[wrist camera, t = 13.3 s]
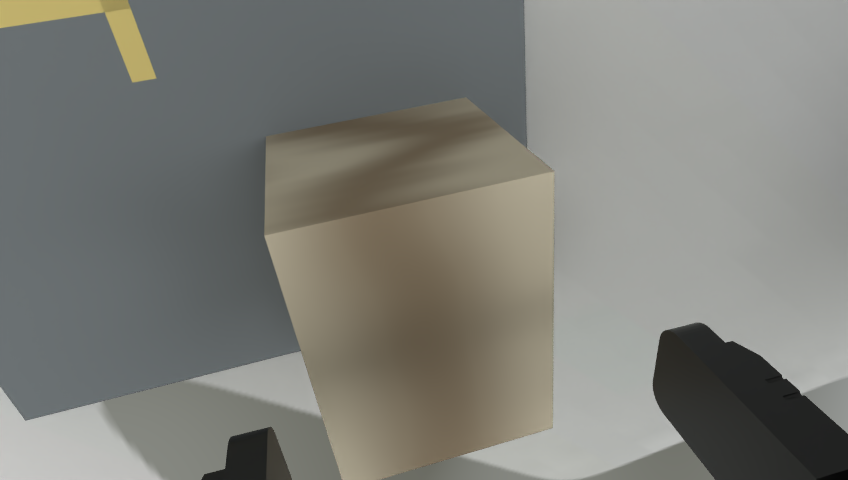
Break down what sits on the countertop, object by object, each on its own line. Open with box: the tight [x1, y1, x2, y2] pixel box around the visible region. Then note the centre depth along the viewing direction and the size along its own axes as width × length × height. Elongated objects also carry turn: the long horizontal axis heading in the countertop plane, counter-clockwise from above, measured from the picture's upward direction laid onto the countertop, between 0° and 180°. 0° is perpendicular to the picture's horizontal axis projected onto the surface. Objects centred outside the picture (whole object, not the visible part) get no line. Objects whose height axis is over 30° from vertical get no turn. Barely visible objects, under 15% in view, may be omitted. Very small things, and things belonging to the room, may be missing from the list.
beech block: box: [264, 97, 554, 480], centre depth 15 cm, size 6×8×6 cm
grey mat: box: [0, 0, 527, 421], centre depth 15 cm, size 18×19×1 cm
